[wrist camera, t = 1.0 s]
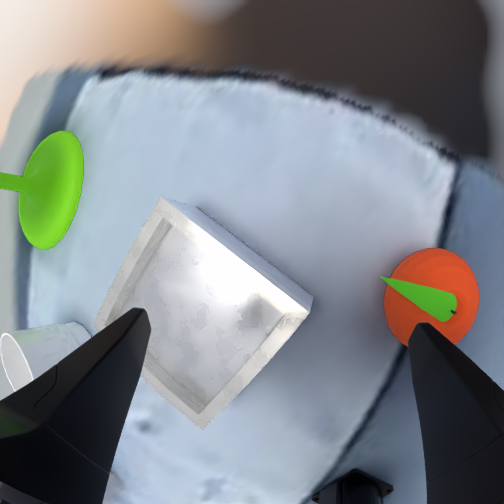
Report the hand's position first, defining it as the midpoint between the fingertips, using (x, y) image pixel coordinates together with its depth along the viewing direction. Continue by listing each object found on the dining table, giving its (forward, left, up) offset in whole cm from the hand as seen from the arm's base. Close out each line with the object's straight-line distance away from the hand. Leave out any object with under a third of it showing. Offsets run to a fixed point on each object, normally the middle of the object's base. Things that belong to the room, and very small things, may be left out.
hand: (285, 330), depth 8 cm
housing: (+5, +7, -13) cm, 16 cm away
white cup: (+15, +23, -13) cm, 30 cm away
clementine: (-7, -4, -13) cm, 16 cm away
